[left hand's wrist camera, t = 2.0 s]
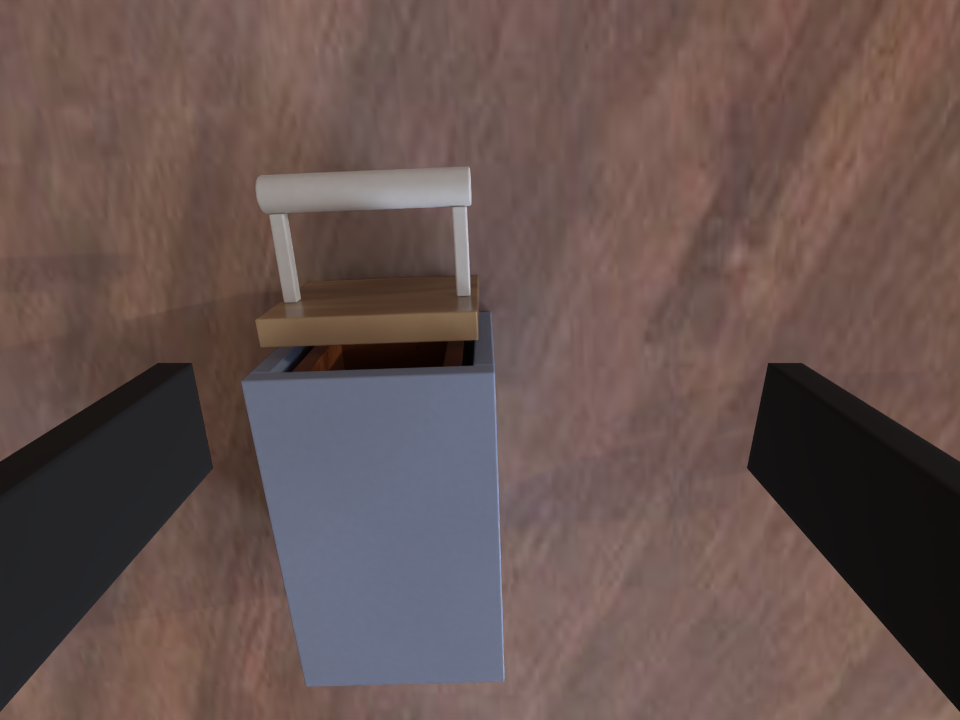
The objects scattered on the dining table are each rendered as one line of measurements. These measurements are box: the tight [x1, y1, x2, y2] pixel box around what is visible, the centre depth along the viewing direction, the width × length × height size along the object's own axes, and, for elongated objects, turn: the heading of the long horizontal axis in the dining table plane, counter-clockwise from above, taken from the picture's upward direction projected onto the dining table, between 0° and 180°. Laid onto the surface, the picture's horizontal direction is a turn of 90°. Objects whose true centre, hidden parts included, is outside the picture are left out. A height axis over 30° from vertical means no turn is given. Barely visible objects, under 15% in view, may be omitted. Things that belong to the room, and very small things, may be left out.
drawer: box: [255, 166, 479, 372], centre depth 26 cm, size 21×9×7 cm, turn 2°
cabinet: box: [241, 311, 505, 686], centre depth 28 cm, size 16×10×9 cm, turn 2°
